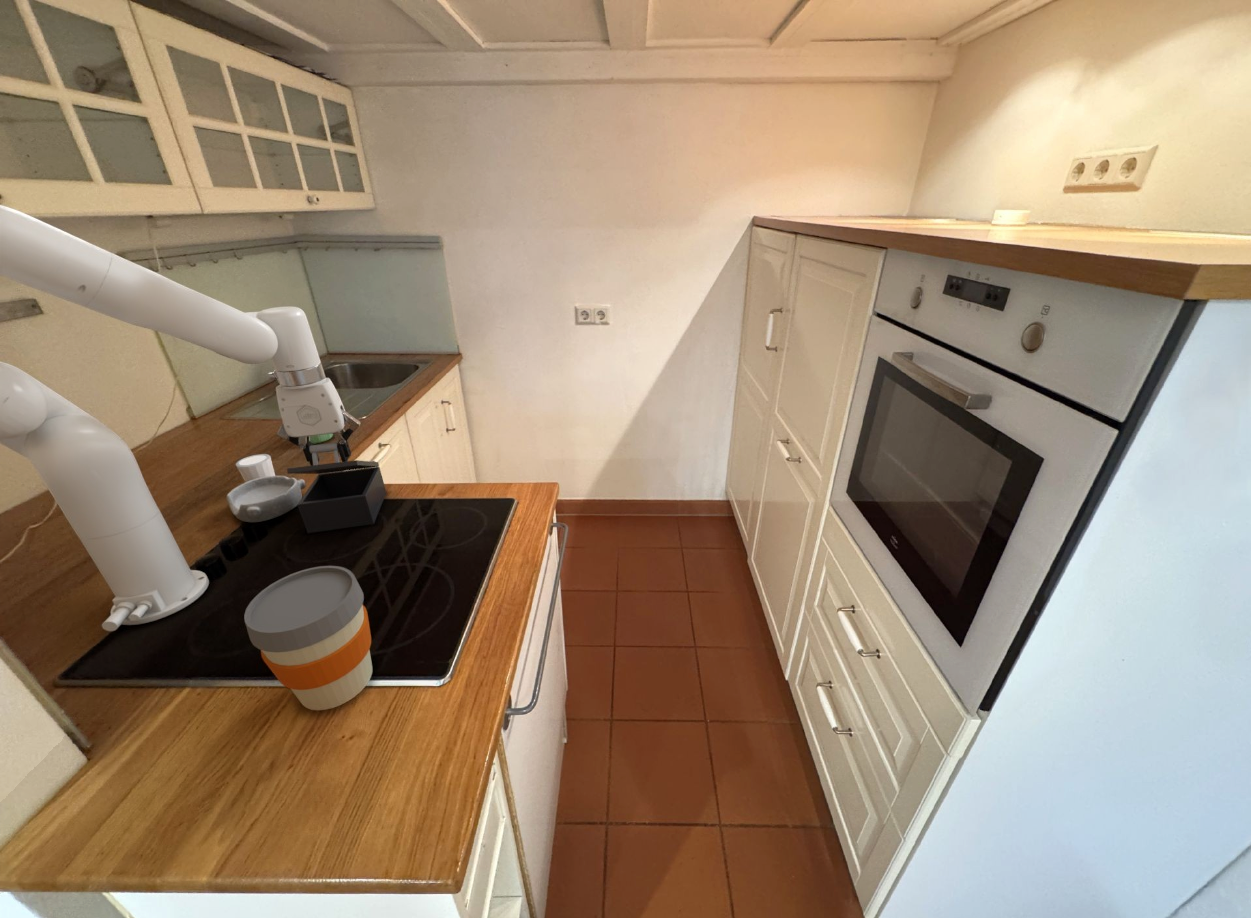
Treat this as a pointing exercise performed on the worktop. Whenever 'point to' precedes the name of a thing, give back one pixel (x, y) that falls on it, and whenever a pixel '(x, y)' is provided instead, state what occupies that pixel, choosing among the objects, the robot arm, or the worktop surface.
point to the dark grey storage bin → (342, 500)
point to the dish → (265, 498)
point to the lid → (331, 466)
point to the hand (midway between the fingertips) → (330, 461)
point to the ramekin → (320, 438)
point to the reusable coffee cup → (314, 635)
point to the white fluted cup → (255, 467)
